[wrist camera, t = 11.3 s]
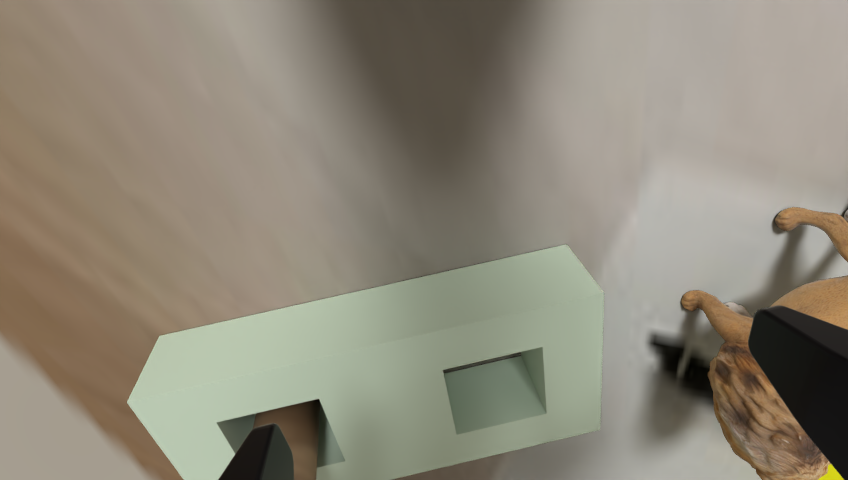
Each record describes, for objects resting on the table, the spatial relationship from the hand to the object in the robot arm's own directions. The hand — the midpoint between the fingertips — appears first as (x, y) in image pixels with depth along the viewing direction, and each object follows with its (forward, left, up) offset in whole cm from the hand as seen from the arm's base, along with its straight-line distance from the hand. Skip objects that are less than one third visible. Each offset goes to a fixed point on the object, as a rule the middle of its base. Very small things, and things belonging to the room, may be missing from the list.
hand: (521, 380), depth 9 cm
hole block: (+4, +11, -13) cm, 17 cm away
